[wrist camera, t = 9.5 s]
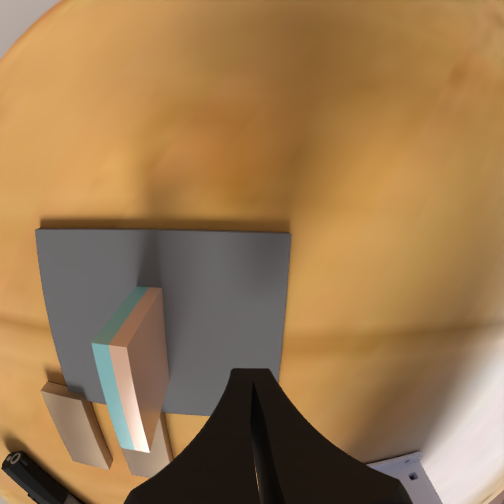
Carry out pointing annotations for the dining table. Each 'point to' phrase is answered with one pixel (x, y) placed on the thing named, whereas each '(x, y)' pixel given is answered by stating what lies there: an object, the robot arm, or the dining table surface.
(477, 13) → the dining table surface
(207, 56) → the dining table surface
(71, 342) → the mat
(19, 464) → the handgun
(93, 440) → the tile rack
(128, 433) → the tile
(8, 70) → the dining table surface
